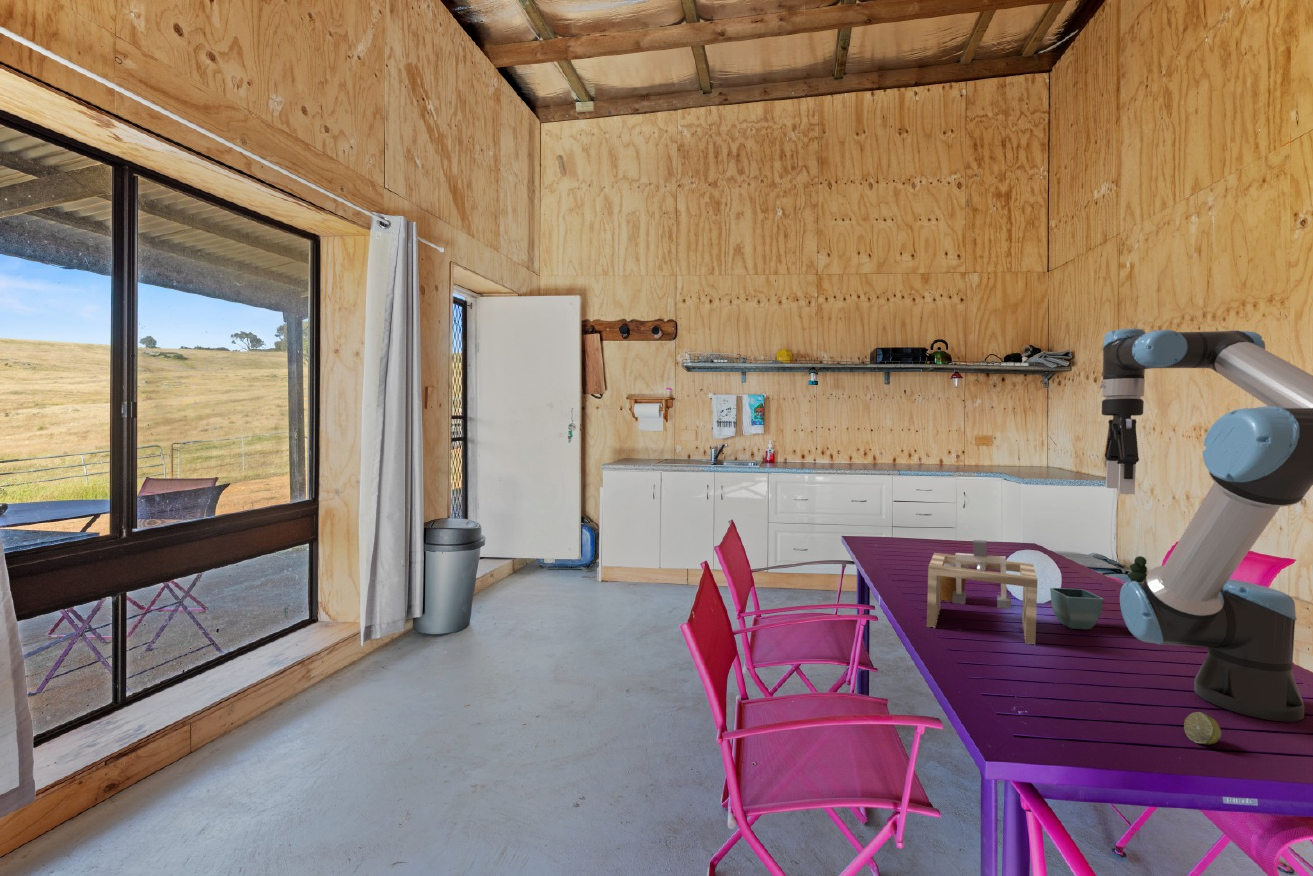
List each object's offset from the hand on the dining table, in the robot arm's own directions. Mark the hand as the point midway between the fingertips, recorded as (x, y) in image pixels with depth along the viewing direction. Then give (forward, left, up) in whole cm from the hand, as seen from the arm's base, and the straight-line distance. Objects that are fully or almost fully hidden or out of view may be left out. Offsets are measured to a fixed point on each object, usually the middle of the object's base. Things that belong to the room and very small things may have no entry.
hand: (1119, 491), depth 136 cm
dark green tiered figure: (+26, -10, -39) cm, 48 cm away
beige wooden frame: (+7, +27, -38) cm, 48 cm away
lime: (-38, -7, -39) cm, 55 cm away
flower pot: (+19, +5, -39) cm, 43 cm away
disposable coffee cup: (+27, +35, -39) cm, 59 cm away
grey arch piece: (+7, +27, -33) cm, 43 cm away
